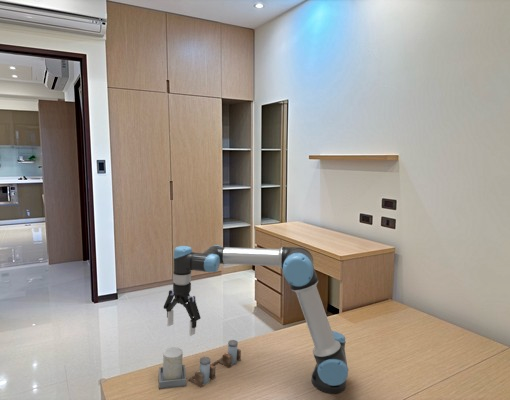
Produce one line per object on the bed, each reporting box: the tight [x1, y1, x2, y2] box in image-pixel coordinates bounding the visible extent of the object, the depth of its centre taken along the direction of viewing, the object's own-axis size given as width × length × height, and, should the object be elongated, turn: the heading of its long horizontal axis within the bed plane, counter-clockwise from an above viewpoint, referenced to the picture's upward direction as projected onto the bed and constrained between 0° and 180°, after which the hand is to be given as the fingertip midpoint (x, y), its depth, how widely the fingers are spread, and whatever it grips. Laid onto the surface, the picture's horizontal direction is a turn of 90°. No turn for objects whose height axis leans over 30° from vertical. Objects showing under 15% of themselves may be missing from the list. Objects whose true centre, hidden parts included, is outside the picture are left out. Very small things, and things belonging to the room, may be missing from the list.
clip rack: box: [187, 348, 242, 388], centre depth 162 cm, size 8×28×5 cm, turn 145°
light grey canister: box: [162, 346, 184, 381], centre depth 153 cm, size 8×8×12 cm
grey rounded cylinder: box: [199, 356, 211, 385], centre depth 153 cm, size 5×5×10 cm
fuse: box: [227, 339, 239, 366], centre depth 169 cm, size 5×5×10 cm
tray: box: [158, 364, 187, 390], centre depth 153 cm, size 11×11×3 cm
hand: (181, 329), depth 152 cm, fingers open, 13 cm apart
